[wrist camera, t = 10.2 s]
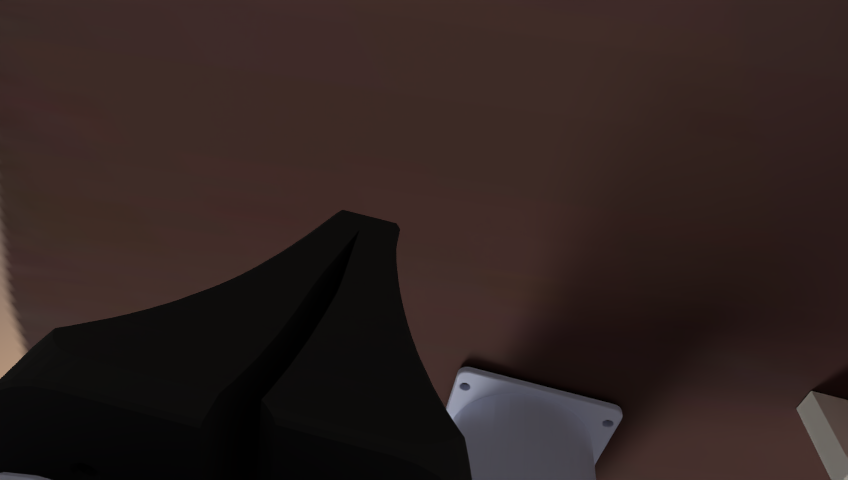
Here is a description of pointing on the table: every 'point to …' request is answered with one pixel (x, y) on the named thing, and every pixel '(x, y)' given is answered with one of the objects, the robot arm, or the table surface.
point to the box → (828, 430)
